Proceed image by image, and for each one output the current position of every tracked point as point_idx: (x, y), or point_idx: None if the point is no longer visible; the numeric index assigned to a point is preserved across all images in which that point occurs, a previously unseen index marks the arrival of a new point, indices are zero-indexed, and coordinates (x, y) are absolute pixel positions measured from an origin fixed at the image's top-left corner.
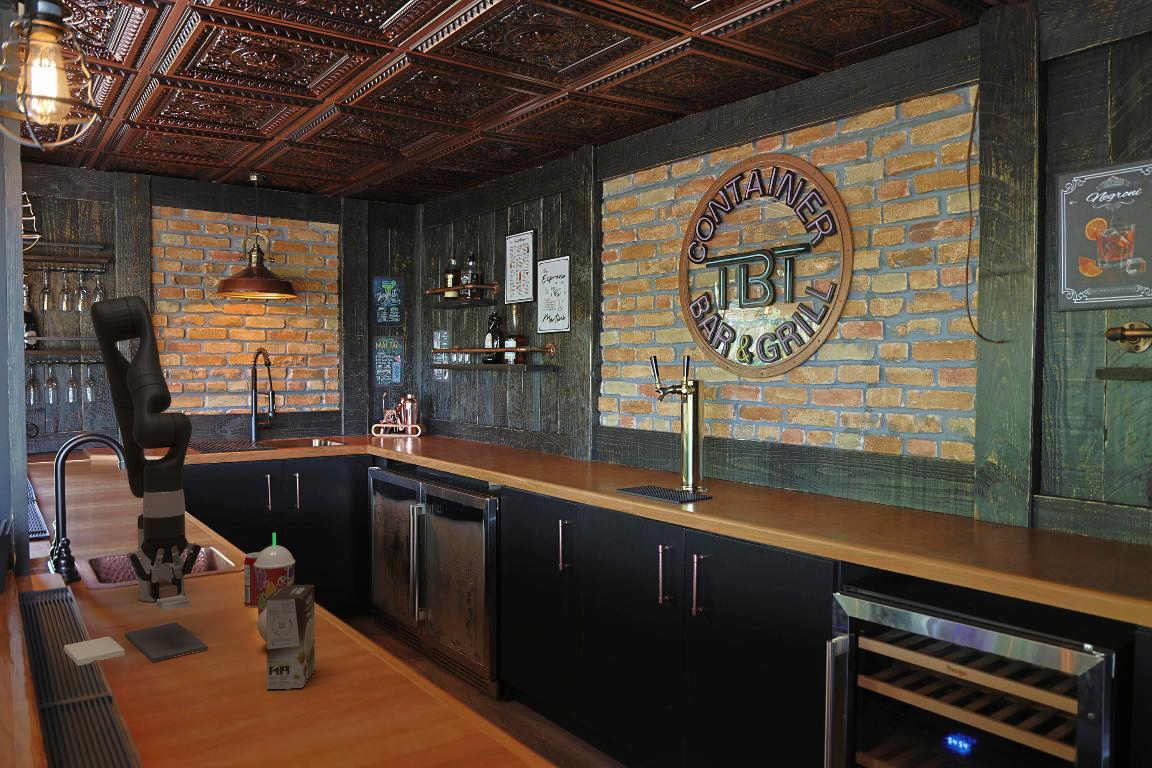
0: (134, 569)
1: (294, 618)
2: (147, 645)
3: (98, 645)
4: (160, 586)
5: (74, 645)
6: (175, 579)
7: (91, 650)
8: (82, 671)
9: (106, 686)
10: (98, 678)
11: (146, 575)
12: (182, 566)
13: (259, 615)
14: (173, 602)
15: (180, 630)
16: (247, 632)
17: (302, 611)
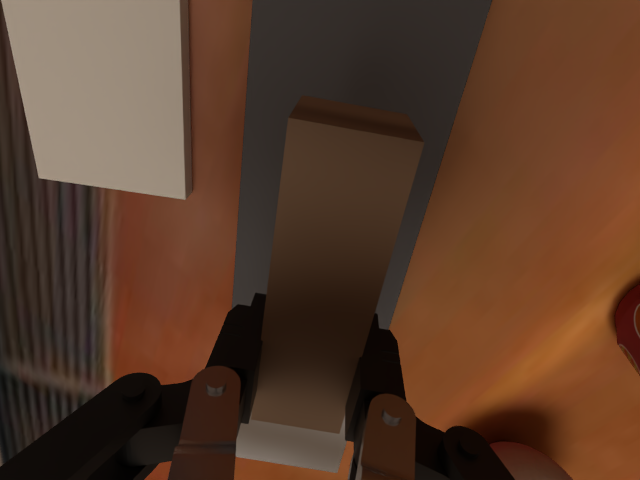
0: (34, 453)
1: None
2: (262, 205)
3: (117, 68)
4: (276, 368)
5: None
6: (350, 439)
7: (87, 111)
8: (61, 229)
9: (104, 361)
10: (94, 307)
11: (142, 472)
12: (456, 469)
13: (637, 332)
14: (275, 453)
15: (427, 136)
16: (561, 296)
17: None
